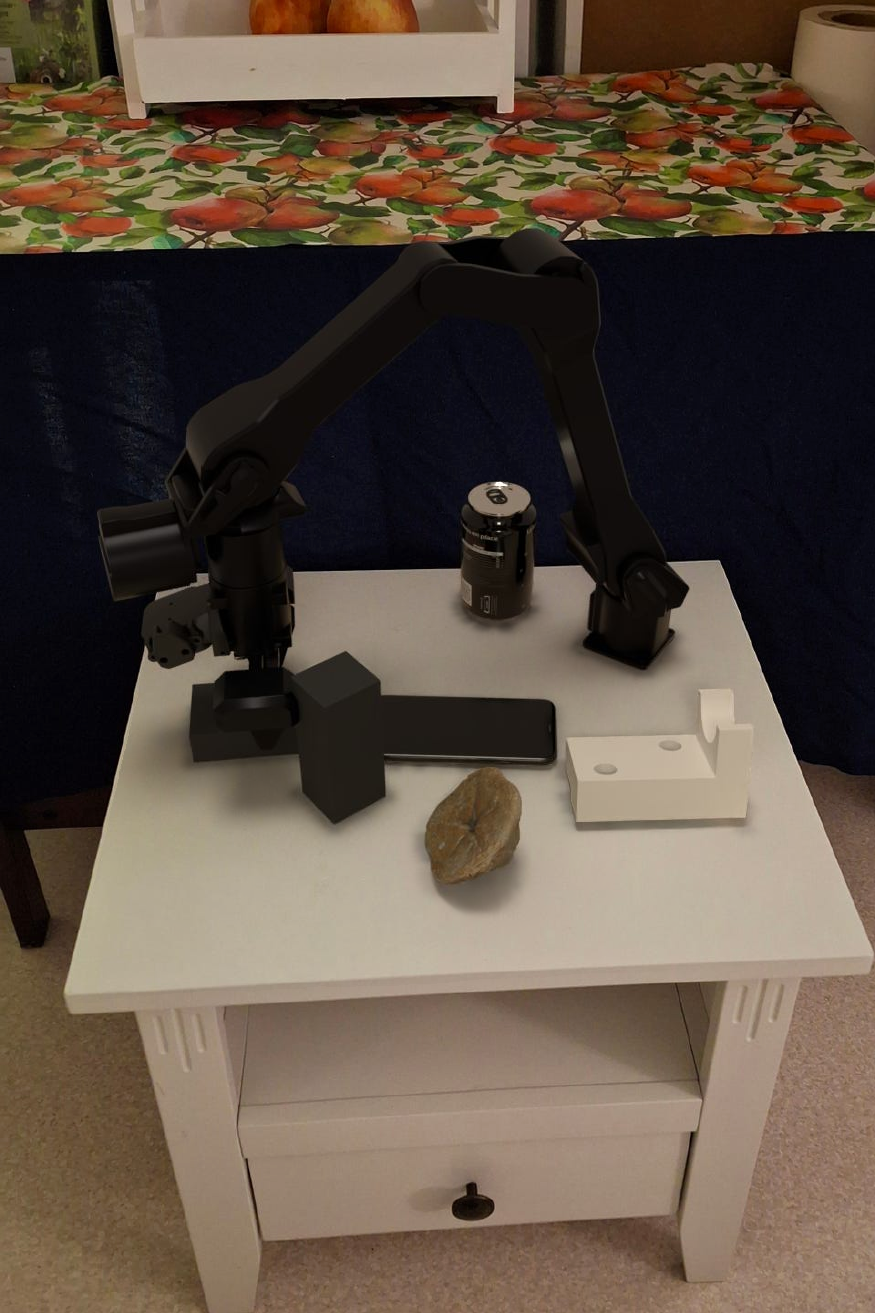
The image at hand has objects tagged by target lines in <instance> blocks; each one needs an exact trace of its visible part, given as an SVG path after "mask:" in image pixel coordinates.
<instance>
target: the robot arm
mask: <svg viewBox="0 0 875 1313" xmlns="http://www.w3.org/2000/svg"><path fill="white" fill-rule="evenodd" d="M599 290H600V289H599V282H598V278H597V276H596V274H595V271H594V269H593V268H592V267H591V266H590V265H589V264H588V263H587V262H586V261H584V259H582V258H581V257H580V256H578V255H577V254H575V253H574V251H572V250H570V248H569V247H567V246H566V245H564V244H563V243H562V242H560V241H559V239H557V238H555V236H553V235H552V234H551V233H549V232H548V231H545V230H543V229H541V228H538V227H537V228H535V227H525V228H522V229H520V230H516V231H514V232H512V234H510V235H508V236H496V235H472V236H468V237H463V238H458V239H453V240H448V241H438V240H437V241H436V240H421V241H415V242H412V243H410V244H409V245H408V246H406V247H404V249H403V250H402V252H401V253H400V254H399V256H398V259H397V261H396V262H395V263H393V265H392V266H390V267H389V268H388V269H387V270H386V271H384V273H382V275H380V277H378V278H376V280H375V281H374V282H373V283H372V284H371V285H369V286H368V287H367V288H366V289H365V290H364V291H363V292H361V293H360V294H359V295H358V296H357V297H356V298H355V299H354V300H353V301H352V302H350V303H349V304H348V305H347V306H346V307H345V308H344V309H342V310H341V311H340V312H339V313H338V314H337V315H336V316H335V317H334V318H333V319H331V320H330V321H329V322H328V323H326V324H325V325H324V327H323V328H321V329H320V330H318V332H317V333H316V334H314V336H312V337H311V338H310V339H309V340H308V341H307V342H306V343H305V344H303V345H302V346H301V347H300V348H299V349H298V350H297V351H295V353H293V354H292V355H291V356H290V357H289V358H287V360H286V361H284V362H283V364H281V365H280V366H278V367H277V368H276V369H274V370H273V371H271V372H269V373H268V374H267V375H265V376H263V377H259V378H256V379H253V380H250V381H246V382H242V383H240V384H237V385H235V386H234V387H232V388H230V389H229V390H227V391H226V392H224V393H222V394H221V395H219V396H218V397H216V398H214V399H213V400H211V401H210V402H208V403H206V404H205V405H204V406H201V408H199V409H198V410H197V411H196V412H195V413H194V415H193V416H192V417H191V418H190V420H189V421H188V423H187V426H186V433H185V446H184V448H183V450H182V452H181V453H180V455H179V456H178V458H177V460H176V462H175V463H174V465H173V466H172V468H171V470H170V471H169V473H168V475H167V477H166V478H165V480H164V484H165V487H166V489H167V492H168V497H169V498H165V499H161V500H156V501H150V502H145V503H139V504H133V505H128V506H110V507H105V508H100V509H98V510H97V512H96V514H97V519H98V527H99V533H100V535H98V536H97V537H98V541H99V547H100V550H101V555H102V559H103V564H104V569H105V572H106V577H107V580H108V585H109V589H110V592H111V596H112V599H113V601H114V602H119V601H123V600H129V599H133V598H137V597H143V596H148V595H153V594H159V593H162V592H167V591H172V590H176V589H181V588H183V589H181V590H178V591H175V592H173V593H170V594H168V595H165V596H163V597H160V598H157V599H155V600H153V601H151V602H149V604H148V605H146V607H145V608H144V610H143V618H142V625H141V632H140V633H141V634H140V635H141V637H142V638H143V640H144V645H143V646H145V648H146V649H147V660H148V661H149V662H152V663H157V664H158V665H159V667H160V668H162V669H166V670H171V669H174V668H177V667H179V666H183V665H185V664H187V663H191V662H193V661H194V659H195V657H196V654H198V653H201V652H203V651H206V650H207V649H210V647H212V653H213V657H214V658H215V657H227V656H231V654H232V652H233V659H234V660H235V661H244V660H247V662H248V669H235V670H225V671H223V672H222V673H221V674H220V675H219V676H218V677H217V678H216V679H215V680H214V682H213V683H214V702H213V713H214V719H215V725H216V729H218V730H219V731H221V732H223V733H231V732H243V731H250V732H251V734H252V736H253V738H254V740H255V741H256V743H257V745H258V747H259V749H260V750H272V749H274V747H275V745H276V743H277V741H278V739H279V737H280V735H281V733H282V731H283V729H284V728H292V727H293V726H295V725H296V724H297V723H299V712H298V703H297V699H296V697H295V696H294V694H293V693H292V687H291V678H290V677H291V676H293V675H295V674H296V673H294V672H292V671H291V670H289V669H288V668H286V667H285V666H284V662H285V659H286V656H287V653H288V650H289V648H293V634H294V630H295V628H296V610H295V609H296V608H295V606H293V605H295V604H296V592H295V590H296V589H295V577H294V569H293V568H292V567H290V566H289V565H288V564H287V558H286V557H285V551H284V549H285V548H284V542H283V530H282V522H281V521H282V520H287V519H292V518H297V517H301V516H302V517H303V516H305V515H306V514H307V513H308V507H307V506H306V503H305V502H304V500H303V498H302V497H301V494H300V492H299V491H298V489H297V487H296V486H295V485H294V484H292V483H289V482H288V481H286V479H287V478H288V477H289V476H290V475H291V473H292V472H293V471H294V470H295V468H297V466H298V465H299V464H300V461H301V459H302V457H303V455H304V453H305V451H306V448H307V447H308V444H309V442H310V440H311V438H312V436H313V434H314V433H315V432H316V431H317V430H318V428H319V427H320V426H321V425H322V423H323V422H324V421H325V420H327V418H328V417H329V416H331V415H332V414H333V413H335V411H336V410H338V409H339V408H340V407H341V406H342V405H344V404H345V403H346V402H347V401H348V400H349V399H350V398H351V397H352V396H353V395H355V394H356V393H358V391H359V390H360V389H361V388H363V387H364V386H366V384H367V383H369V382H370V381H371V380H372V379H373V378H374V377H376V375H377V374H379V373H380V372H381V371H382V370H383V369H384V368H385V367H386V366H387V365H389V364H390V363H391V362H392V361H393V360H394V359H396V357H398V356H399V355H400V354H401V353H403V352H404V351H405V350H406V349H408V347H409V346H410V345H412V344H413V343H414V342H415V341H416V340H417V339H418V338H419V337H421V336H422V335H423V334H424V333H425V332H426V331H428V330H429V329H430V328H431V327H432V326H433V325H434V324H435V323H436V322H438V321H439V320H440V319H441V318H442V317H449V318H451V317H453V318H456V317H457V318H468V319H473V320H476V321H482V322H487V323H491V324H496V325H501V326H506V327H513V328H514V330H515V331H516V333H517V334H518V336H519V337H520V339H521V341H522V342H523V344H524V345H525V346H526V348H527V350H528V351H529V353H530V355H531V356H532V358H533V361H534V365H535V368H536V371H537V374H538V377H539V381H540V384H541V387H542V391H543V393H544V396H545V400H546V404H547V407H548V410H549V413H550V417H551V420H552V423H553V426H554V429H555V433H556V436H557V439H558V443H559V446H560V449H561V453H562V455H563V459H564V462H565V465H566V469H567V472H568V475H569V479H570V482H571V485H572V488H573V491H574V501H573V505H572V508H571V510H569V511H567V512H563V513H560V514H558V515H557V518H558V521H559V523H560V524H561V526H562V528H563V530H564V531H565V537H566V538H565V539H566V540H565V547H566V549H567V550H568V551H569V553H570V554H571V555H572V556H573V557H574V558H575V560H576V561H577V562H578V564H579V565H580V566H581V568H583V569H584V571H585V572H586V573H587V575H588V576H589V577H590V578H591V580H592V581H593V582H594V583H595V587H594V590H593V591H591V593H590V594H589V602H588V613H587V624H586V629H587V631H588V632H590V633H589V634H588V635H587V636H585V638H584V639H583V640H582V648H583V649H585V650H588V651H591V652H593V653H595V654H598V655H600V656H604V657H606V658H608V659H612V660H614V661H617V662H619V663H622V664H625V665H627V666H630V667H632V668H634V669H637V670H641V671H645V670H648V669H649V668H650V666H652V664H653V663H654V662H655V661H656V659H657V658H658V657H659V656H660V655H661V653H662V652H663V651H664V649H666V647H667V646H668V645H669V643H671V641H672V640H673V639H674V638H675V636H676V630H675V629H673V628H671V627H670V623H671V622H670V621H671V616H672V610H675V609H679V608H681V607H682V605H683V603H684V601H685V599H686V597H687V595H688V594H689V591H690V586H689V585H688V583H687V582H686V581H685V580H684V579H683V578H682V577H681V576H680V575H679V574H678V572H676V570H674V568H673V567H672V566H671V565H670V564H669V563H668V562H667V553H666V551H665V549H664V546H663V545H662V543H661V541H660V539H659V537H658V535H657V534H656V532H655V530H654V528H653V527H652V524H651V523H650V522H649V520H648V519H647V517H646V516H645V514H644V513H643V511H642V509H641V508H640V507H639V504H637V502H636V500H635V499H634V497H633V495H632V493H631V489H630V485H629V481H628V478H627V477H628V476H627V474H626V469H625V466H624V463H623V459H622V458H623V457H622V455H621V451H620V447H619V443H618V440H617V437H616V436H617V435H616V432H615V428H614V425H613V421H612V418H611V414H610V409H609V406H608V403H607V398H606V395H605V391H604V388H603V383H602V379H601V375H600V372H599V369H598V364H597V360H596V356H595V346H596V344H597V339H598V336H599V332H600V329H601V325H602V324H601V323H602V320H601V307H600V291H599ZM199 538H204V545H205V551H206V558H207V564H208V570H207V572H208V574H207V578H208V580H207V581H208V583H207V582H206V583H204V584H200V585H197V586H196V585H193V586H191V584H196V583H198V574H197V571H200V570H203V562H202V555H201V549H200V544H199V540H198V539H199Z"/></svg>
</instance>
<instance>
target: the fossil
mask: <svg viewBox="0 0 875 1313" xmlns="http://www.w3.org/2000/svg"><path fill="white" fill-rule="evenodd" d="M466 777H467V778H464V779H462V781H461V782H460V783H459V785H458V786H457V787H456V788H455V789H454V790H453V791H452V792H450V794H448V795H447V796H446V797H445V798H444V799H442V801H441V802H439V803H438V804H437V805H436V806H435V808H434V810H433V811H432V813H431V815H430V817H429V819H428V821H427V823H426V827H425V828H426V829H425V830H426V831H425V833H424V844H425V848H426V849H427V852H428V854H430V870H431V873H432V874H433V876H434V878H435V880H436V881H438V882H439V883H442V884H443V885H447V886H456V885H460V884H462V883H466V882H468V881H472V880H475V879H478V878H480V877H481V876H483V875H485V874H487V873H488V872H492V871H495V870H498V869H503V868H505V867H506V866H508V865H509V864H510V863H511V862H512V860H513V858H514V853H515V852H516V850H517V846H518V845H519V844H520V840H521V829H520V822H521V817H522V813H523V812H522V811H523V800H522V796H521V793H520V790H519V789H518V787H517V786H516V785H515V783H513V782H511V781H510V780H509V779H508V778H506V776H504V774H503V772H502V771H501V769H499V768H498V767H494V766H485V767H481V768H478V769H477V770H475V771H474V772H471V773H470V774H468V775H467V776H466Z"/></svg>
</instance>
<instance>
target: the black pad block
mask: <svg viewBox="0 0 875 1313" xmlns="http://www.w3.org/2000/svg"><path fill="white" fill-rule="evenodd" d="M294 674H295V675H293V676H291V677H290V678H291V687H292V693H293V694H294V696H295V697H296V699H297V703H298V712H299V723H297V724H296V734H297V744H298V753H299V754H298V760H299V761H298V762H299V770H300V781H301V789H302V793H303V794H304V795H305V797H307V799H308V800H309V801H310V802H311V803H313V805H314V806H316V808H317V809H318V810H320V812H321V813H322V814H323V815H324V816H325V817H326V818H327V819H328V820H329V821H330V822H331V823H332V824H333V825H336V824H338V823H339V822H342V821H343V820H345V819H347V818H349V817H350V816H352V815H354V814H356V813H358V812H360V811H361V810H363V809H365V808H367V807H369V806H371V805H373V804H374V803H376V802H378V801H380V800H382V799H383V798H385V797H386V796H387V790H386V789H387V788H386V767H385V766H386V764H385V761H384V744H383V722H382V701H381V695H382V680H381V679H380V678H379V677H378V676H376V675H375V674H374V673H373V672H372V671H370V670H369V669H368V668H367V667H366V666H364V664H362V663H361V662H360V661H359V660H358V659H356V658H355V657H354V656H353V655H352V654H351V653H349V652H348V651H347V650H345V651H342V652H340V653H338V654H336V655H333V656H331V657H330V658H327V659H325V660H323V661H320V662H319V663H317V664H315V665H312V666H310V667H308V668H306V669H304V670H301V671H300V672H296V673H294Z"/></svg>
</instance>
